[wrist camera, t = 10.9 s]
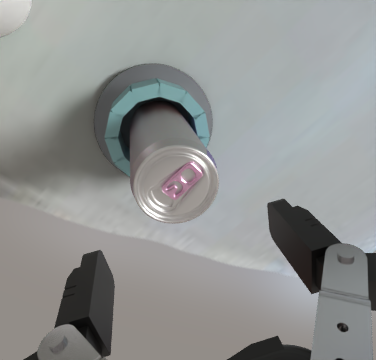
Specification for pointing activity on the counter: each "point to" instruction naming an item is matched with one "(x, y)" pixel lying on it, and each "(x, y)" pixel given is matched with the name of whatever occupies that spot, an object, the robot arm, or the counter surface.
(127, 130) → the holder
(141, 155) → the beverage can
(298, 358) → the robot arm
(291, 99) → the counter surface
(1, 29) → the mug
